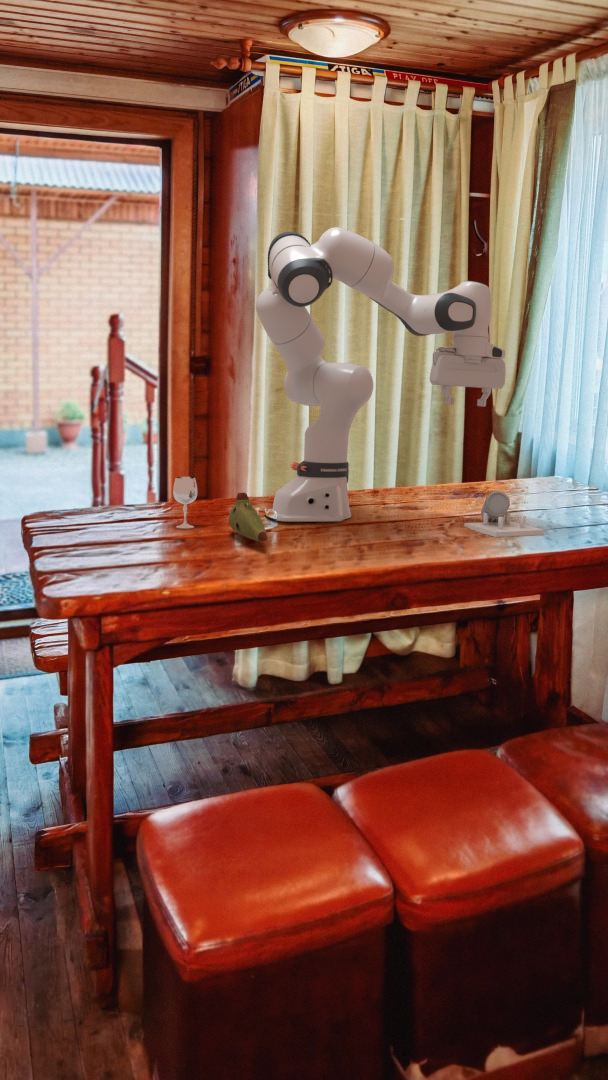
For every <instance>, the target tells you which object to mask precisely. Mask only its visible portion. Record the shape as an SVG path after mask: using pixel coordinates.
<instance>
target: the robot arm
mask: <svg viewBox="0 0 608 1080" xmlns="http://www.w3.org/2000/svg"><path fill="white" fill-rule="evenodd" d="M394 273H395V262H394V259H393V257H392V256H391V255H390V254H389V253H388V252H387V250H385V249H384V248H382V247H381V246H380V245H378V244H377V243H375V242H373V241H371V240H370V239H368V238H366V237H364V236H361V235H360V234H358V233H356V232H353V231H351V230H348V229H346V228H342V227H338V226H335V227H330V228H329V229H326V230H325V231H324V232H323V233H322V235H321V236H320V237H319V239H318V240H317V241H316V242H315V243H313V244H311V243H310V241H309V240H308V239H307V238H306V237H304V236H303V235H302V234H300V233H298V232H295V231H284V232H282V233H279V234H277V235H276V236H275V237H273V239H272V240H271V242H270V245H269V247H268V251H267V275H268V276H267V277H268V279H270V280H271V281H270V282H271V283H270V285H268V286H267V287H266V288H265V289H264V290H262V292H260V294H259V295H258V297H257V298H256V301H255V310H256V314H257V316H258V318H259V322H260V323H261V324H262V325H261V326H262V327H263V329H264V331H265V333H266V334H267V337H269V339H270V341H271V342H272V343H273V345H274V347H275V348H276V350H277V351H278V353H279V354H280V357H282V359H283V361H284V362H285V365H286V367H287V371H286V374H285V376H284V380H283V388H284V391H285V395H286V396H287V398H288V399H289V400H290V401H292V402H294V403H297V404H299V405H303V406H307V407H320V410H319V414H318V416H317V418H316V420H315V421H314V422H313V423H311V424H310V425H309V426H307V428H306V430H305V431H304V443H303V444H304V447H303V450H304V452H303V459H304V460H302V461H301V462H300V463H298V462H295V461H293V462H291V464H290V469H291V470H292V471H296V476H294V477H293V478H291V480H290V481H288V482H287V483H286V484H284V485H283V486H282V487H281V488H279V489H277V491H276V492H275V494H274V499H273V504H272V510H274V511H276V512H277V520H276V521H279V522H341V521H344V520H347V519H350V518H351V517H352V512H351V508H350V502H349V493H348V483H349V475H350V474H349V473H350V470H349V469H350V468H349V466H350V464H349V462H348V449H349V448H348V447H349V437H350V432H351V427H352V424H353V421H354V419H355V417H356V415H357V414H358V412H359V411H360V409H361V408H362V407H363V406H364V405H365V404H366V403H368V401H369V400H370V399H371V397H372V395H373V391H374V378H373V376H372V374H371V372H370V370H368V368H366V367H365V366H361V365H359V364H354V363H351V362H328V361H326V360H324V359H323V358H322V355H323V353H324V350H325V345H326V343H325V342H326V340H325V336H324V335H323V333H322V331H321V330H320V328H319V327H318V325H317V324H316V322H315V320H314V319H313V317H312V316H311V314H310V312H309V311H308V309H307V308H306V307H308V306H310V305H312V304H314V303H315V302H317V301H319V299H320V298H321V297H322V295H323V294H324V292H325V291H326V290H327V289H329V288H330V286H331V285H332V284H333V279H335V280H337V281H339V282H341V283H343V284H345V285H346V286H348V287H350V288H352V289H353V290H355V291H357V292H358V293H360V294H363V295H365V296H366V297H367V298H369V299H370V300H372V301H373V302H375V303H376V304H378V305H379V306H380V307H382V308H384V309H385V310H387V311H388V312H390V313H391V314H393V315H394V316H396V317H397V318H398V319H399V320H400V322H401V323H402V324H403V326H404V327H405V328H406V330H407V331H408V332H409V333H411V334H412V335H414V336H416V337H425V336H430V335H437V334H438V335H439V334H448V333H453V335H452V347H444V346H440V347H438V348H436V349H435V350H434V351H433V353H432V364H431V368H430V373H429V383H430V384H431V385H433V386H442V387H441V391H442V393H443V395H444V397H445V399H444V400H445V401H444V403H445V405H451V406H453V405H454V403H455V397H452V395H451V392H450V391H452V387H464V388H479V389H481V393H482V395H481V397H480V398H477V400H476V402H477V403H476V406H477V407H486V405H487V399H488V398H489V397H490V395H491V394H492V389H493V390H500V389H501V390H502V389H503V387H504V386H505V383H506V371H507V369H506V363H505V361H504V360H503V359H504V358H506V351H505V349H503V348H501V347H498V346H496V345H494V344H493V343H491V342H489V341H490V335H489V325H490V324H491V323H490V322H491V317H492V294H491V293H492V292H491V290H490V287H489V286H488V285H487V284H485V283H483V282H479V281H473V280H464V281H461V282H460V283H459V284H458V285H457V286H455V287H453V288H452V289H448V290H446V291H443V292H437V293H432V294H414V293H410V292H408V291H407V290H405V288H403V287H402V286H400V285H398V284H397V283H395V282H394V281H393V277H394V275H395V274H394Z"/></svg>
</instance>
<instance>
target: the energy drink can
mask: <svg viewBox="0 0 608 1080" xmlns="http://www.w3.org/2000/svg"><path fill="white" fill-rule="evenodd" d="M510 501H511V500H510V498H509V496H508V495H507V494H506V493H505V492H503V491H501V490H493V491H492V492H489V494H487V496H486V498H485V499H484V502H483V505H482V508H481V510H480V515H481V518H482V519H483V515H484V513H488V522H498V517H503V519H505V514H506V512H508V510H509V508H510V505H511V503H510Z"/></svg>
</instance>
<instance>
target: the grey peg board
mask: <svg viewBox="0 0 608 1080" xmlns="http://www.w3.org/2000/svg"><path fill="white" fill-rule="evenodd" d="M526 517H527V516H526V515H520V522H515V521H511V512H510V511H507V512H506V514H505V516H504V518H503V517H498V522H489V521H488V513H484V515H483V518H482V521H481V522H480V521H479V522H465V523H463V524H464V525H463V526H464V527H465V528H468V529H470V530H472V531H474V530H475V532H477V533H480V534H484V535H487V536H491V537H493V538H504V537H505V538H506V537H522V536H523V537H525V536H526V537H527V536H544V535H545V529H542V528H538V527H534V526H530V525H526V520H527V519H526Z"/></svg>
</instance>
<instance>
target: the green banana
mask: <svg viewBox="0 0 608 1080" xmlns="http://www.w3.org/2000/svg"><path fill="white" fill-rule="evenodd" d="M228 523H229V525H230V526H229V527H230V528H231V529H232V530H233V531H234V532H235V533H237V534H239V535H241V536H242V537H245V538H247V539H250V540H253V541H257V542H266V541H267V540H268V536H267V531H266V528H265V526H264V523H263V521H262V519H261V517H260V516H259V514H258V512H257V510H256V509H255V508H254V507H253V505H252V504H251V502H250V499H249V497H248V494H247V493H246V492H238V493H237V495H236V499H235V503H234V505H233V506H232V508H231V509H230V511H229V514H228Z"/></svg>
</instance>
